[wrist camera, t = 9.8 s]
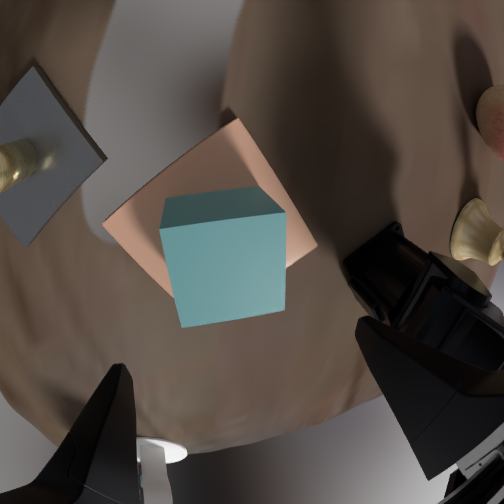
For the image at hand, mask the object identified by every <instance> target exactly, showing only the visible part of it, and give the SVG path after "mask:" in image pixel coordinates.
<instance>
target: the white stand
mask: <svg viewBox="0 0 504 504" xmlns="http://www.w3.org/2000/svg"><path fill="white" fill-rule="evenodd" d="M136 441H137V461H139V462H140V463H139V464H138V465H139V474H138V478H139V489H140V497H141V500H140V504H173V501H172V493H171V488H170V484H169V480H168V478H167V470H166V463H172V462H177V461H180V460H182V459H184V458H185V457H186V456H187V450H186V448H185V447H183V446H182V445H180V444H178V443H176V442H173V441H169V440H165V439H159V438H151V437H136Z"/></svg>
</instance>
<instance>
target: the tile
mask: <svg viewBox="0 0 504 504" xmlns="http://www.w3.org/2000/svg"><path fill="white" fill-rule="evenodd" d="M256 186H260V187H261V188H262V189H263V190H264V191H265V192H266V193H267V194H268V195H269V196H270V197H271V198H272V199H273V200H274V201H275V202H276V203H277V204H278V205H279V206H280V207H281V208H282V209H283V210H284V211H286V268H287V267H288V266H290V265H291V264H293V263H294V262H295V261H297V260H298V259H300V258H301V257H303V256H304V255H306V254H307V253H308V252H310V251H311V250H313V249H314V248H315V247H317V246H318V245H317V243H316V241H315V240H314V238H313V236H312V234H311V233H310V231H309V229H308V227H307V226H306V224H305V222H304V221H303V219H302V217H301V216H300V214H299V212H298V210H297V209H296V207H295V205H294V204H293V202H292V200H291V199H290V197H289V196H288V194H287V192H286V191H285V189H284V187H283V186H282V184H281V183H280V181H279V179H278V178H277V176H276V175H275V173H274V171H273V170H272V168H271V167H270V165H269V164H268V162H267V160H266V159H265V157H264V156H263V154H262V153H261V151H260V150H259V148H258V147H257V145H256V143H255V142H254V140H253V139H252V137H251V136H250V134H249V133H248V131H247V130H246V129H245V127H244V126H243V124H242V123H241V121H240V120H239V118H235V119H234V120H232V121H231V122H229V123H228V124H226V125H225V126H223V127H222V128H220V129H219V130H217V131H216V132H214V133H213V134H211V135H210V136H209V137H207V138H206V139H204V140H203V141H201V142H200V143H199V144H197V145H196V146H194V147H193V148H191V149H190V150H189V151H187V152H186V153H185V154H183V155H182V156H181V157H180V158H178V159H177V160H175V161H174V162H173V163H171V164H170V165H169V166H168V167H166V168H165V169H164V170H162V171H161V172H160V173H159V174H157V175H156V176H155V177H154V178H152V179H151V180H150V181H149V182H148V183H146V184H145V185H144V186H143V187H142V188H141V189H139V190H138V191H137V192H136V193H135V194H133V195H132V196H131V197H130V198H129V199H128V200H127V201H125V202H124V203H123V204H122V205H121V206H120V207H119V208H118V209H116V210H115V211H114V212H113V213H112V214H111V215H110V216H109V217H108V218H107V219H106V220H105V221H104V222H103V224H102V225H103V226H104V227H105V229H106V230H107V231H108V232H109V233H110V234H111V235H112V236H113V237H114V238H115V240H117V242H118V243H119V244H120V245H121V246H122V247H123V248H124V249H125V250H126V251H127V252H128V253H129V254H130V255H131V256H132V257H133V259H134V260H135V261H136V262H137V263H138V264H139V265H140V266H141V267H142V268H143V269H144V270H145V271H146V272H147V273H148V274H149V275H150V276H151V277H152V278H153V279H154V280H155V281H156V282H157V283H158V284H159V285H160V286H162V287H163V288H164V289H165V290H166V291H167V292H168V293H169V294H170V295H171V296H172V297H173V298H174V295H173V291H172V287H171V283H170V278H169V274H168V269H167V265H166V260H165V256H164V251H163V246H162V241H161V236H160V231H159V228H160V223H161V218H162V213H163V209H164V204H165V200H166V198H169V197H175V196H182V195H189V194H196V193H204V192H212V191H220V190H228V189H237V188H247V187H256Z"/></svg>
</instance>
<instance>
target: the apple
mask: <svg viewBox="0 0 504 504" xmlns="http://www.w3.org/2000/svg"><path fill="white" fill-rule="evenodd" d="M476 119H477V124H478V128H479V131H480V133H481V136H482V138H483V139H484V141H485V143H486V144H487V145H488V147H489V148H490V149H491V150H492V152H493V153H494V154H495V155H496V156H497V157H498V158H499V159H501V160H502V161H503V162H504V85H497V86H493V87H490V88H488V89H487V90H486V91H485V92H484V93H483V94H482V95H481V97H480V99H479V101H478V104H477V108H476Z"/></svg>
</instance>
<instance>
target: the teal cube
mask: <svg viewBox="0 0 504 504" xmlns="http://www.w3.org/2000/svg"><path fill="white" fill-rule="evenodd" d="M159 231H160V236H161V241H162V246H163V251H164V256H165V260H166V265H167V269H168V274H169V278H170V283H171V287H172V291H173V295H174V299H175V303H176V307H177V311H178V315H179V319H180V322H181V326H182V328H184V327H191V326H198V325H204V324H211V323H217V322H223V321H229V320H235V319H241V318H246V317H252V316H257V315H263V314H268V313H273V312H278V311H283V310H285V281H286V211H284V210H283V209H282V208H281V207H280V206H279V205H278V204H277V203H276V202H275V201H274V200H273V199H272V198H271V197H270V196H269V195H268V194H267V193H266V192H265V191H264V190H263V189H262V188H261V187H260V186H256V187H247V188H237V189H228V190H220V191H212V192H204V193H196V194H189V195H182V196H175V197H169V198H166V200H165V204H164V209H163V213H162V218H161V223H160V228H159Z"/></svg>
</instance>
